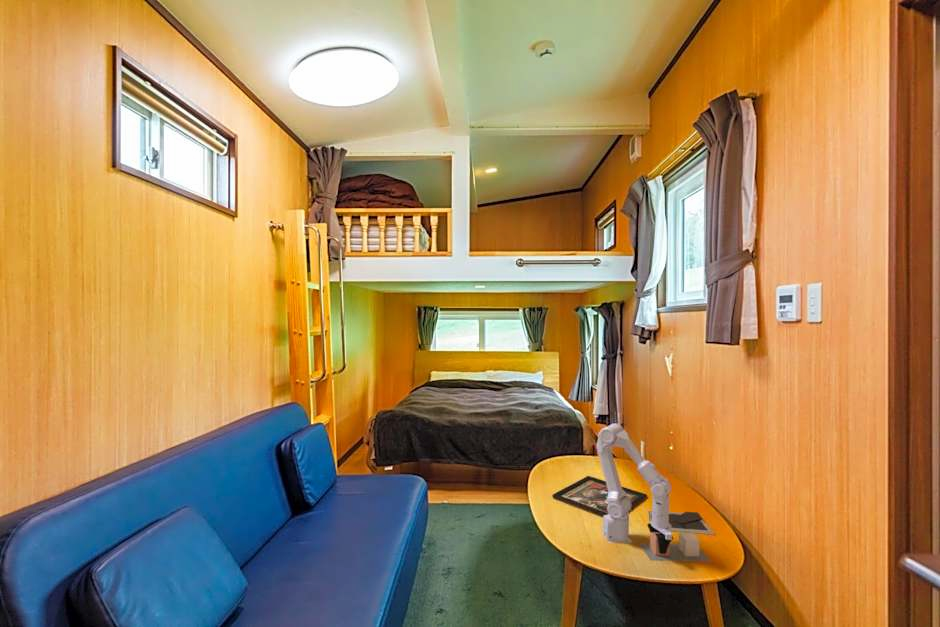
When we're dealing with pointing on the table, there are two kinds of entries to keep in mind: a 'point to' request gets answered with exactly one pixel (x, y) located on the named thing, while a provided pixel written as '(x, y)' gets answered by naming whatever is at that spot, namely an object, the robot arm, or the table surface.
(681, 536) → the tan block
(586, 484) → the framed painting
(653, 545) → the terracotta block
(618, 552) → the table surface
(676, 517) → the picture frame
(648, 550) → the grey board
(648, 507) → the table surface
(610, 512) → the robot arm
